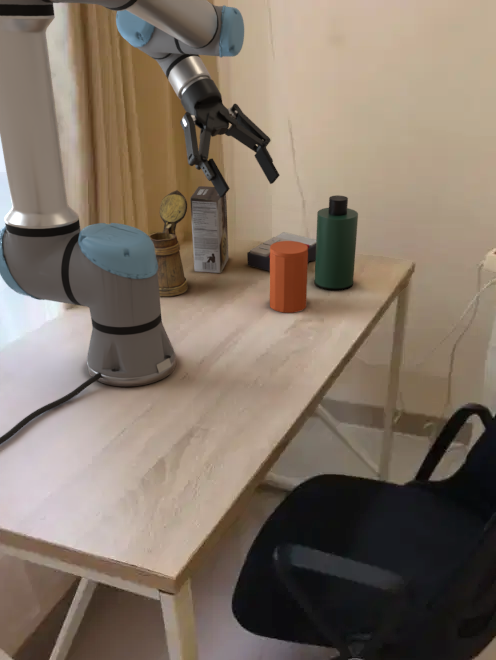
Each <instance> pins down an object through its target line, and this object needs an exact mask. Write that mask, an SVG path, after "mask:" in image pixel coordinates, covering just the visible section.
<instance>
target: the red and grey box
mask: <svg viewBox="0 0 496 660" xmlns="http://www.w3.org/2000/svg"><path fill="white" fill-rule="evenodd" d="M280 241H296V242H301V243H304V244H305V245H307V247H308V263H309V262H315V260H316V238H311V237H308V236H304V235H298V234H294V233H290V232H285V231H283V232H281V233H279V234H277V235H275V236H273V237H271V238H269V239H267V240H265V241H264V242H262V243H260V244H258V245H256V246H255V247H253V248H251V249H249V251H248V252H247V253H246V258H247V266H248V267H252V268H256V269H259V270H260V269H261V270H263V271H268V272H270V246H271V245H272V244H273V243H276V242H280Z"/></svg>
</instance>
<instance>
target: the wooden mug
mask: <svg viewBox="0 0 496 660" xmlns="http://www.w3.org/2000/svg"><path fill="white" fill-rule="evenodd" d="M187 212H188V201H187V198H186V197H185V196H184V194H183V193H182V192H180V191H179V189H176V190H173V191H171V192H169V193H168V194H167V195H165V196H164V197H163V198H162V200H161V202H160V206H159V216H160V218H161V220H162V222H163V223H164V224H163V229H162V231H161V232H159V231H158V232H152V233H149V234H147V235H148V236H149V237H150V239H151V240H152V242H153V244H154V248H155V254H156V259H157V263H158V283H159V295H160V297H174V296H178V295H182V294H184V293H185V292H187V290H188V289H189V288H188V281H187V278H186V277H185V272H184V271H185V270H184V267H183V261H182V256H181V251H180V250H181V245H180V241H179V240H178V236H177V235H176V229H177V224H178V223H180V222H181V221H182V220H183V219H184V218H185V217H186V214H187Z"/></svg>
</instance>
